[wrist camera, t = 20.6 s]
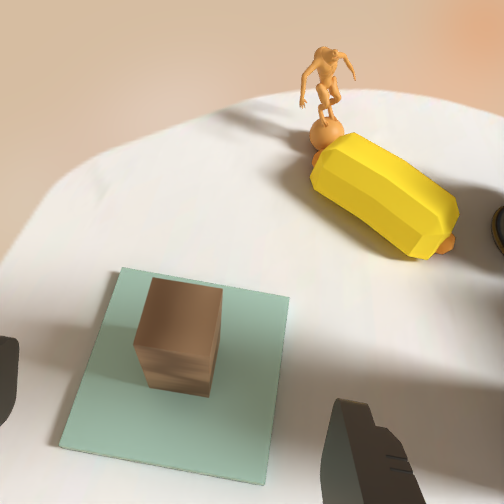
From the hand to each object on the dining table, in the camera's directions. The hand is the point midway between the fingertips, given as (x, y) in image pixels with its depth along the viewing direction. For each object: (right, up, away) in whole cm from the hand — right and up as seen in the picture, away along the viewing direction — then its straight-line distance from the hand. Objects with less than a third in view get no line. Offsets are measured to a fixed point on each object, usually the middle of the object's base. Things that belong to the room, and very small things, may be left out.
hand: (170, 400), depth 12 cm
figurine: (+10, +17, +45) cm, 49 cm away
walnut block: (-4, -6, +28) cm, 29 cm away
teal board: (-4, -6, +29) cm, 30 cm away
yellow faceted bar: (+16, +8, +41) cm, 45 cm away
